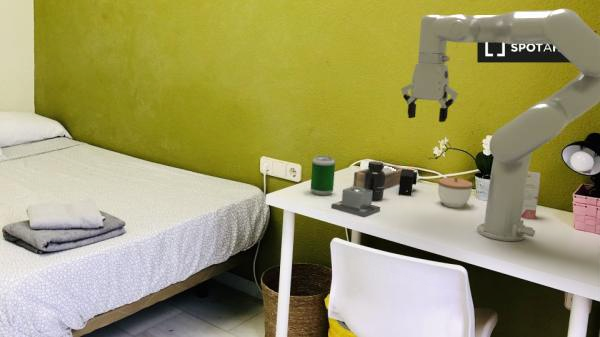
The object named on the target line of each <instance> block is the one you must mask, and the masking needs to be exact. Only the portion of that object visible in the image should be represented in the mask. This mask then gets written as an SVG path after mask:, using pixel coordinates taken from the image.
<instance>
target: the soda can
mask: <svg viewBox="0 0 600 337" xmlns="http://www.w3.org/2000/svg"><path fill="white" fill-rule="evenodd" d="M311 162H312V163H311V176H310V178H311V179H310V191H311V192H312V193H313V194H314V195H317V196H329V195H331V193H333V192H334V185H335V184H334V182H335V170H336V161H335V160H334V158H333V157H331V156H326V155H317V156H315V157H314V158H313V159H312V160H311Z"/></svg>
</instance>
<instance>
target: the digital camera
mask: <svg viewBox="0 0 600 337" xmlns="http://www.w3.org/2000/svg"><path fill="white" fill-rule="evenodd" d="M417 180H418V172H417V171H415V169H407V168H405V169H402V171H401V175H400V183H399V184H398V185H399V186H398V194H397V195H398V196H404V197H405V196H406V197H412V192H413V185H415V186H416V185H417Z"/></svg>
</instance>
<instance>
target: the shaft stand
mask: <svg viewBox="0 0 600 337" xmlns="http://www.w3.org/2000/svg"><path fill="white" fill-rule="evenodd" d="M354 191H356V192H361V190H360V189H354ZM330 209H334V210H337V211H342V212H344V213H348V214H351V215H355V216H359V217H363V218H366V217H369V216H371V215H373V214H376V213H379V212H380V211H381V206H378V205H374V204H371V206H370V207H368V208H365V209H360V210H356V209H353V208H349V207H345V206H342V200H340V201H337V202H334V203H331V206H330Z"/></svg>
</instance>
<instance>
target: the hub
mask: <svg viewBox="0 0 600 337" xmlns="http://www.w3.org/2000/svg"><path fill="white" fill-rule="evenodd" d="M354 189H360V190H361V192H356V191H354ZM372 193H373V190H369V189H365V188H361V187H357V186H351V187H347V188H344V189H342V193H341V194H342V195H341V201H342V206H345V207H349V208H353V209H356V210H360V209H365V208H368V207H370V206H371V205H373V204H372V203H373V201H372Z"/></svg>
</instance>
